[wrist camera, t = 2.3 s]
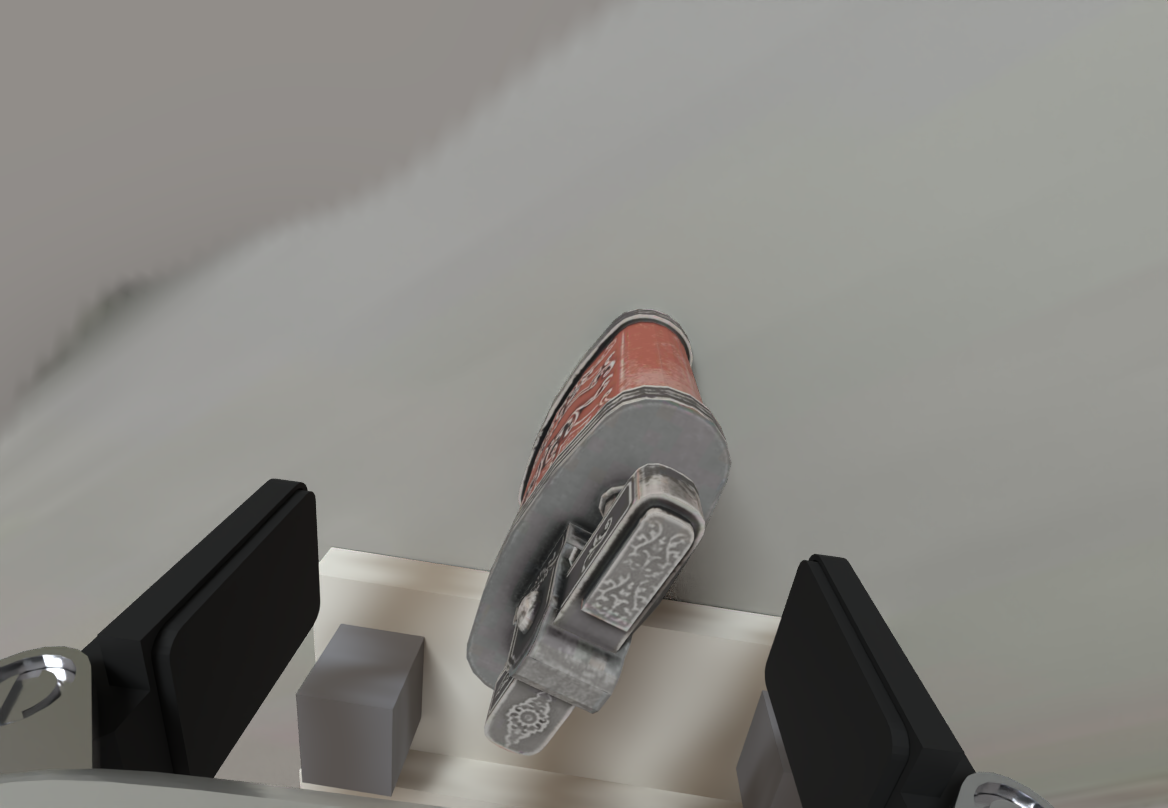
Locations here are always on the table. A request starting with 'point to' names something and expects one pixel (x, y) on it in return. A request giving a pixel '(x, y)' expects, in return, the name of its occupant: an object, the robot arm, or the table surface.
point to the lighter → (596, 529)
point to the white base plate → (582, 743)
